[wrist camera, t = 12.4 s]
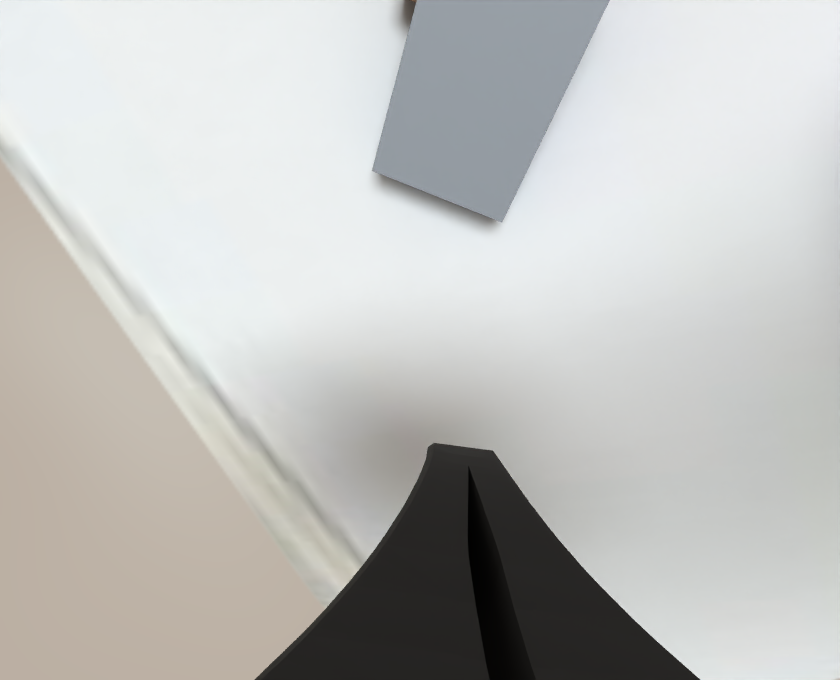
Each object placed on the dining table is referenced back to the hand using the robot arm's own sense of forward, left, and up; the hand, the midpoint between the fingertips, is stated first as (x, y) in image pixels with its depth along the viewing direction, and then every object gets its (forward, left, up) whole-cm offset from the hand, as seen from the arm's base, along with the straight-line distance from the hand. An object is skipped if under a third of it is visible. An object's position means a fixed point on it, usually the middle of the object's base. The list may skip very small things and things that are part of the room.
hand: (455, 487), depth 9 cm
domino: (+4, -4, -10) cm, 11 cm away
